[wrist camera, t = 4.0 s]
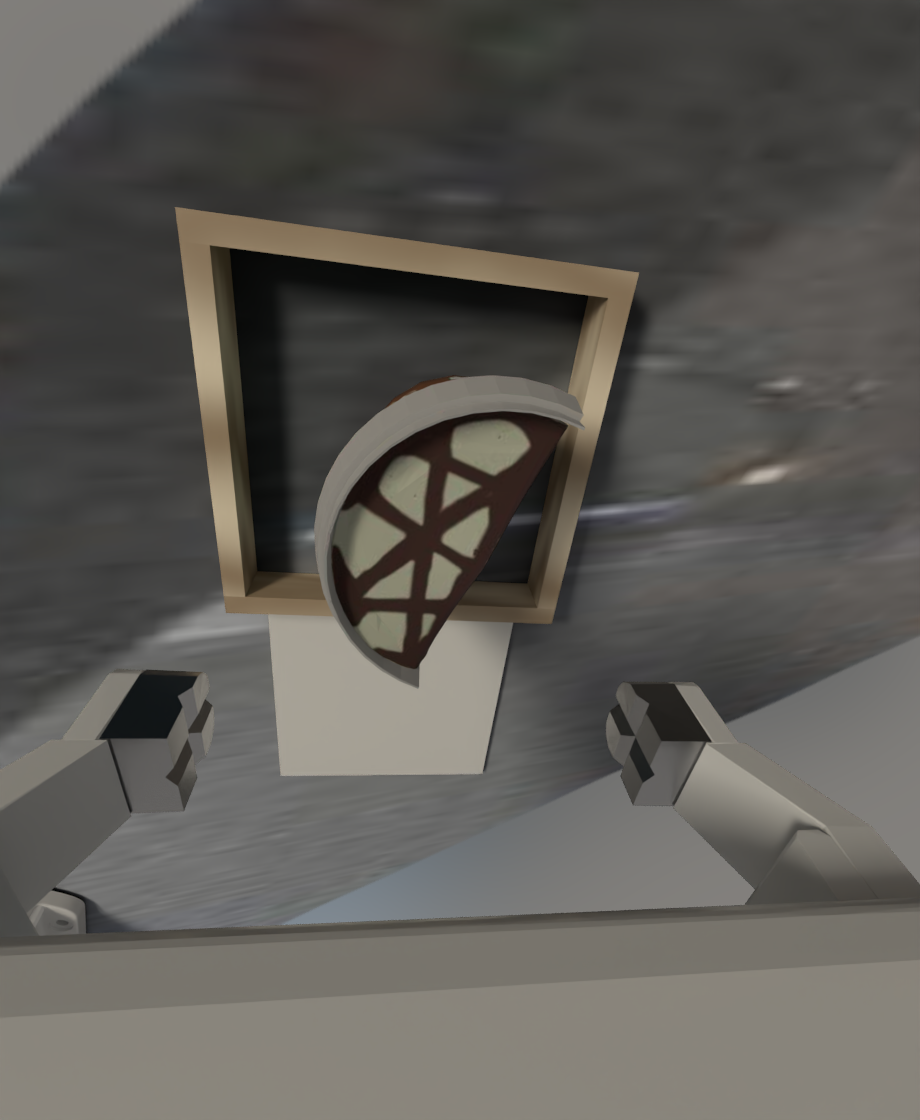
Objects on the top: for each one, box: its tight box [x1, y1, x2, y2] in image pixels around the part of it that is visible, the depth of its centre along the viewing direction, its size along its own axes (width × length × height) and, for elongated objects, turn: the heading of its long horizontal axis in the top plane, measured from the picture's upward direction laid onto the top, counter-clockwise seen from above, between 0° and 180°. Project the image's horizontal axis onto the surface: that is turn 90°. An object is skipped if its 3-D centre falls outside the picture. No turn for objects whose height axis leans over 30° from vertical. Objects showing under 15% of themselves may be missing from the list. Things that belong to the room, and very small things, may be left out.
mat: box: [268, 614, 513, 776], centre depth 33 cm, size 14×14×1 cm
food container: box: [314, 375, 585, 689], centre depth 21 cm, size 12×6×10 cm, turn 151°
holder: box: [175, 207, 639, 624], centre depth 24 cm, size 17×17×2 cm
